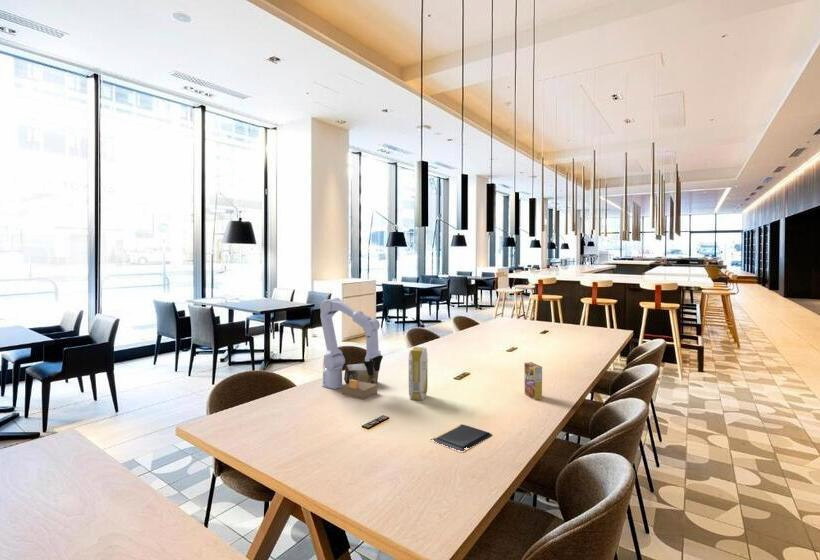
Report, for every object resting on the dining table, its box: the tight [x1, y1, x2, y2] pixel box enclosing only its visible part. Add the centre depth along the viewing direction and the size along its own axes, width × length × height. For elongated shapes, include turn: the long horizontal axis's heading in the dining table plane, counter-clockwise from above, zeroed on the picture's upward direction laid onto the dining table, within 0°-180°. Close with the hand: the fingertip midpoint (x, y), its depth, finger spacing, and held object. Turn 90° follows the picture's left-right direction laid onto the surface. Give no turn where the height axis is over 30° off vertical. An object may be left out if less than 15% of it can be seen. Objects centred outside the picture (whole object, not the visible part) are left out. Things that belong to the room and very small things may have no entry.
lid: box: [341, 379, 378, 392], centre depth 210 cm, size 13×10×4 cm
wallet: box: [430, 424, 493, 451], centre depth 161 cm, size 20×2×15 cm
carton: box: [341, 386, 378, 400], centre depth 210 cm, size 13×10×4 cm
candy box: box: [523, 361, 543, 401], centre depth 205 cm, size 9×4×15 cm, turn 17°
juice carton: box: [408, 345, 429, 401], centre depth 204 cm, size 9×8×24 cm
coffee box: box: [343, 363, 380, 384], centre depth 224 cm, size 9×6×16 cm
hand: (374, 373), depth 209 cm, fingers open, 7 cm apart
